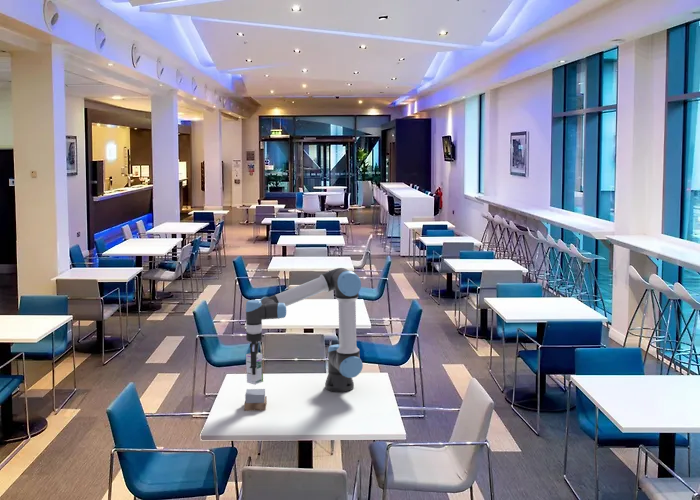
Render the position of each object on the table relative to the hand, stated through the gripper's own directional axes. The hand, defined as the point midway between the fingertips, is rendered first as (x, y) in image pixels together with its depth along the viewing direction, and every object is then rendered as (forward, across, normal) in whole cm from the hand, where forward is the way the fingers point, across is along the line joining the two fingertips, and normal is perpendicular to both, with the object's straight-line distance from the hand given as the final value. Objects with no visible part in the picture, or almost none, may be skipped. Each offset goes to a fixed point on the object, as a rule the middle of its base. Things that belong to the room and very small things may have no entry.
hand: (254, 377), depth 364 cm
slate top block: (+11, 0, 0) cm, 11 cm away
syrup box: (+2, 0, 0) cm, 2 cm away
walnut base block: (+15, 0, 0) cm, 15 cm away
